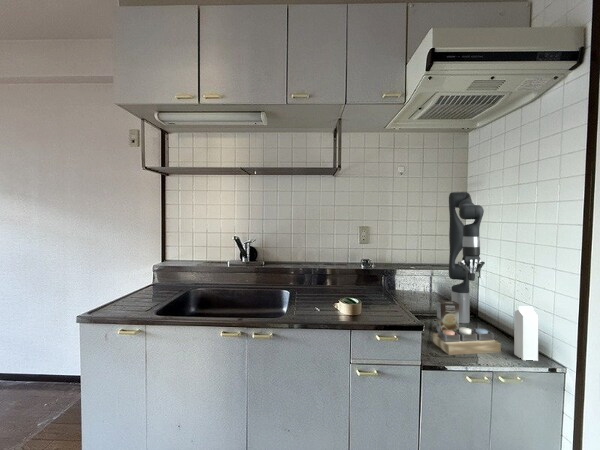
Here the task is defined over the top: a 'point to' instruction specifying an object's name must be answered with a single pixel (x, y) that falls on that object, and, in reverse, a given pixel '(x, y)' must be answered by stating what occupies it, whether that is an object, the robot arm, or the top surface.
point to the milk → (526, 333)
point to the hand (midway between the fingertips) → (471, 280)
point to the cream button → (464, 330)
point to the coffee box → (447, 315)
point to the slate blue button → (481, 331)
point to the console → (467, 343)
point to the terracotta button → (448, 332)
